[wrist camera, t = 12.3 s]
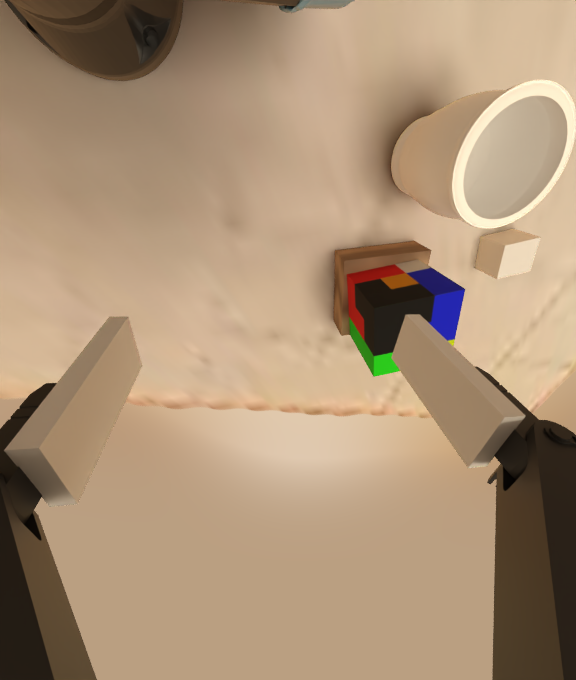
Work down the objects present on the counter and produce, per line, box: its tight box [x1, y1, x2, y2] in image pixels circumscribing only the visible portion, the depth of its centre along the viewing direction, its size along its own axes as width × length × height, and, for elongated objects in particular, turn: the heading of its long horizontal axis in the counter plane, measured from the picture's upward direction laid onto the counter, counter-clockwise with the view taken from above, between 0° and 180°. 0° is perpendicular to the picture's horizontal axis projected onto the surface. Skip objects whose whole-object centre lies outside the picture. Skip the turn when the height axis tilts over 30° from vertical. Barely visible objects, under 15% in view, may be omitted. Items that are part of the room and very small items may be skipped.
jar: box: [391, 80, 576, 228], centre depth 30 cm, size 11×10×15 cm
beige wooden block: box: [475, 229, 541, 279], centre depth 42 cm, size 5×5×5 cm
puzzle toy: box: [347, 259, 465, 376], centre depth 37 cm, size 10×10×10 cm
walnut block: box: [334, 241, 431, 336], centre depth 43 cm, size 12×12×5 cm
